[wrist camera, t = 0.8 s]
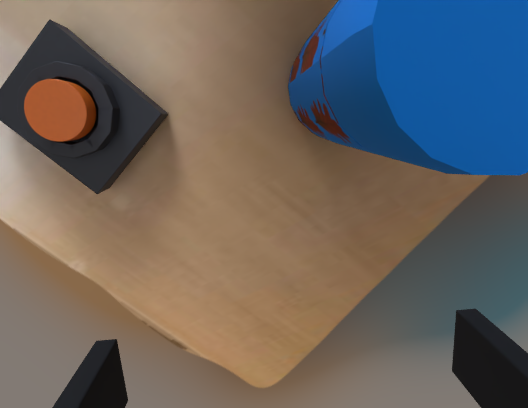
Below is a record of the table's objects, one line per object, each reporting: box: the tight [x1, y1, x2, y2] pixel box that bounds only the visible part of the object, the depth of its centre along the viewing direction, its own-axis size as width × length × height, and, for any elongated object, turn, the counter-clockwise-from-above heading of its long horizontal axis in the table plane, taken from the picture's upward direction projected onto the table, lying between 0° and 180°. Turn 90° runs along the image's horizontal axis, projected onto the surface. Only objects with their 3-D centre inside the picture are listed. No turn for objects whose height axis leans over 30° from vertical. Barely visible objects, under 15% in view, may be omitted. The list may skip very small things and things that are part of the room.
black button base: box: [0, 20, 168, 194], centre depth 34 cm, size 12×10×5 cm
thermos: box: [288, 0, 528, 175], centre depth 25 cm, size 11×11×25 cm
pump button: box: [24, 79, 96, 142], centre depth 31 cm, size 5×5×2 cm
